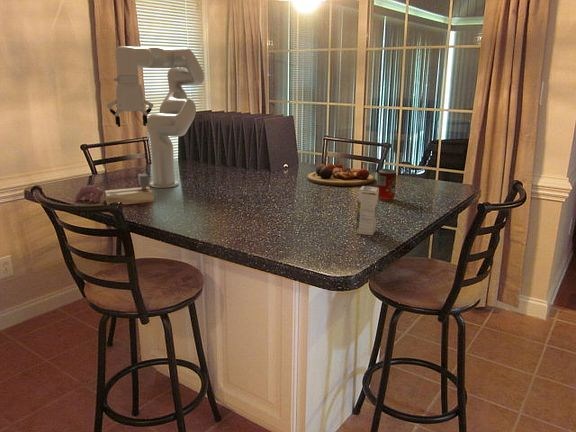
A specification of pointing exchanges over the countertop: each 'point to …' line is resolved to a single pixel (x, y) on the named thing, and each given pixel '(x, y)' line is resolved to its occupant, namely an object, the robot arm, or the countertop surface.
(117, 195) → the fader board
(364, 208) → the syrup box
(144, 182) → the fader knob
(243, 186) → the countertop surface
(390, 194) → the soda can
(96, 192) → the pink domed lump
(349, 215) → the countertop surface
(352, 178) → the wooden plate with food
